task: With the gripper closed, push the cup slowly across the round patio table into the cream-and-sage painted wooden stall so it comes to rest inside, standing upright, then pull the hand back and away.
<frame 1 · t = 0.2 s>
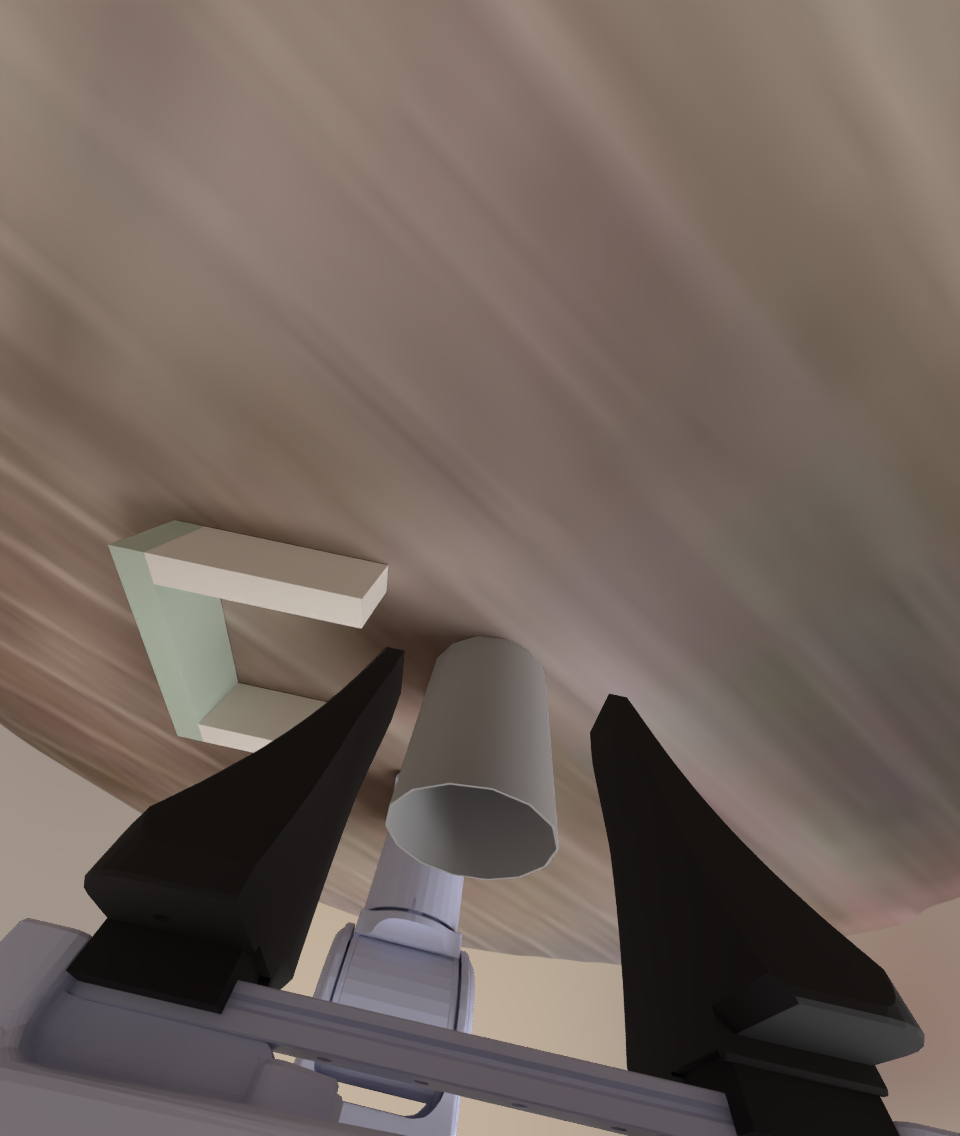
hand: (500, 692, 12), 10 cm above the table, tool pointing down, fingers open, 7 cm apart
stall: (303, 642, 26), on the table
cup: (488, 679, 26), on the table
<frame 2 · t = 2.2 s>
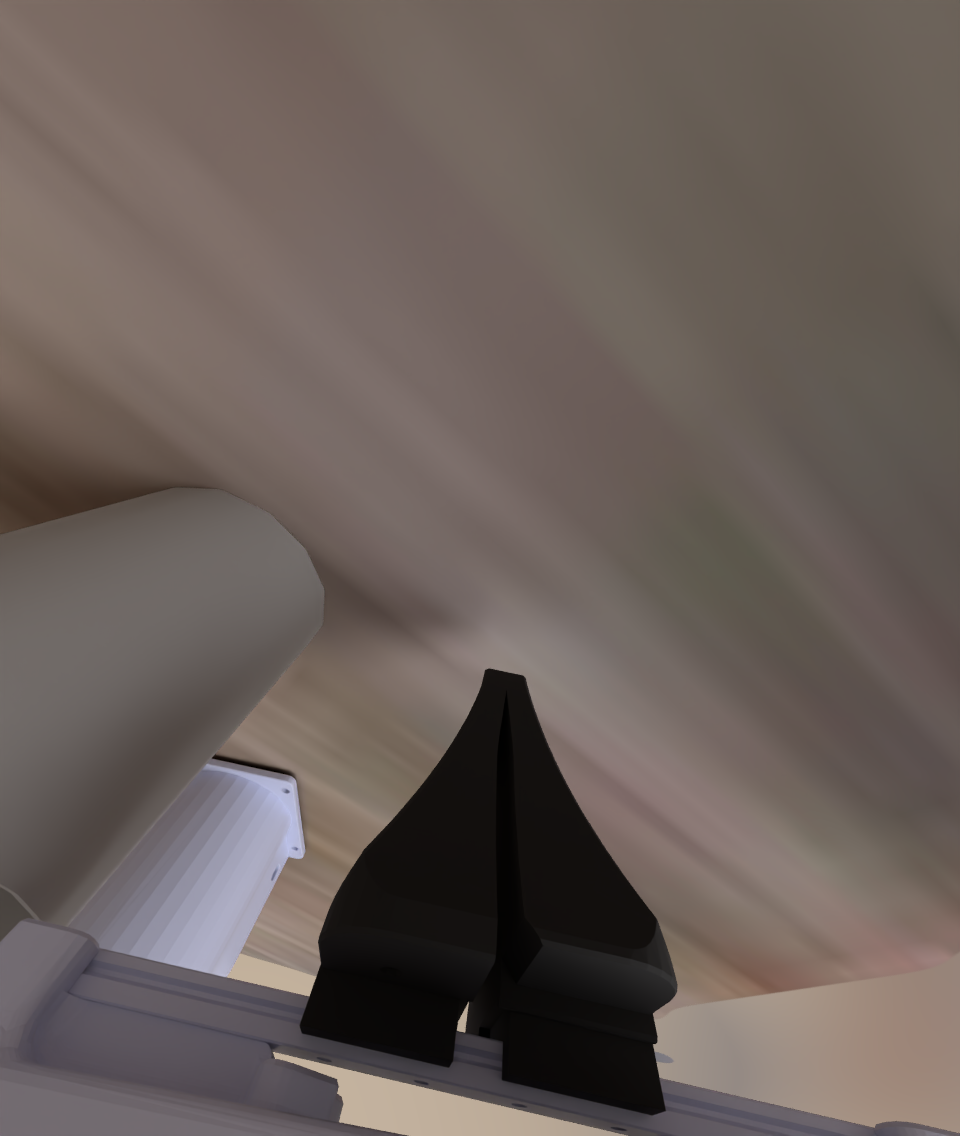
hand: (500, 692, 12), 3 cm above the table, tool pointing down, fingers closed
cup: (234, 580, 15), on the table
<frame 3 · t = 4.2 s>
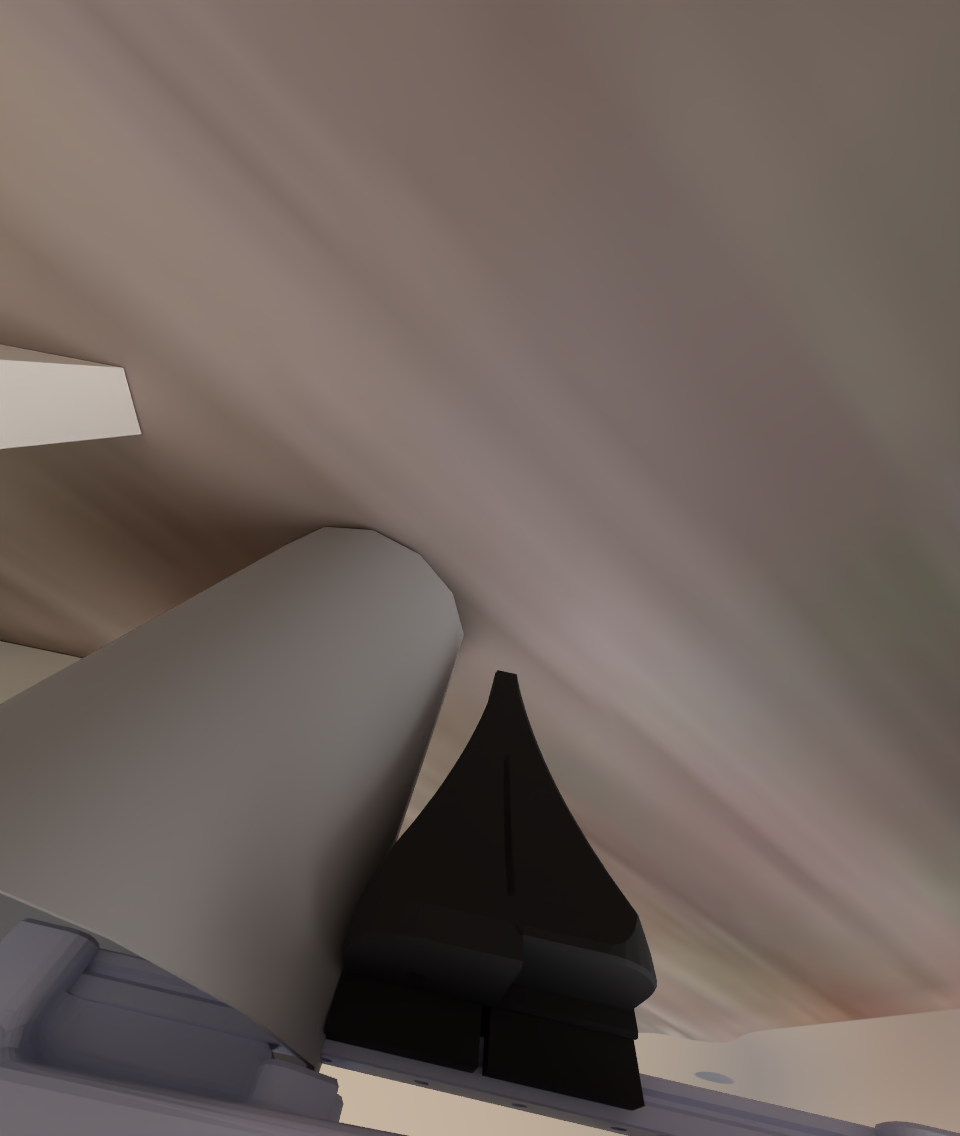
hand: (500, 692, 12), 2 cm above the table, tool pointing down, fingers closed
stall: (46, 555, 15), on the table
cup: (365, 620, 14), on the table, touching gripper
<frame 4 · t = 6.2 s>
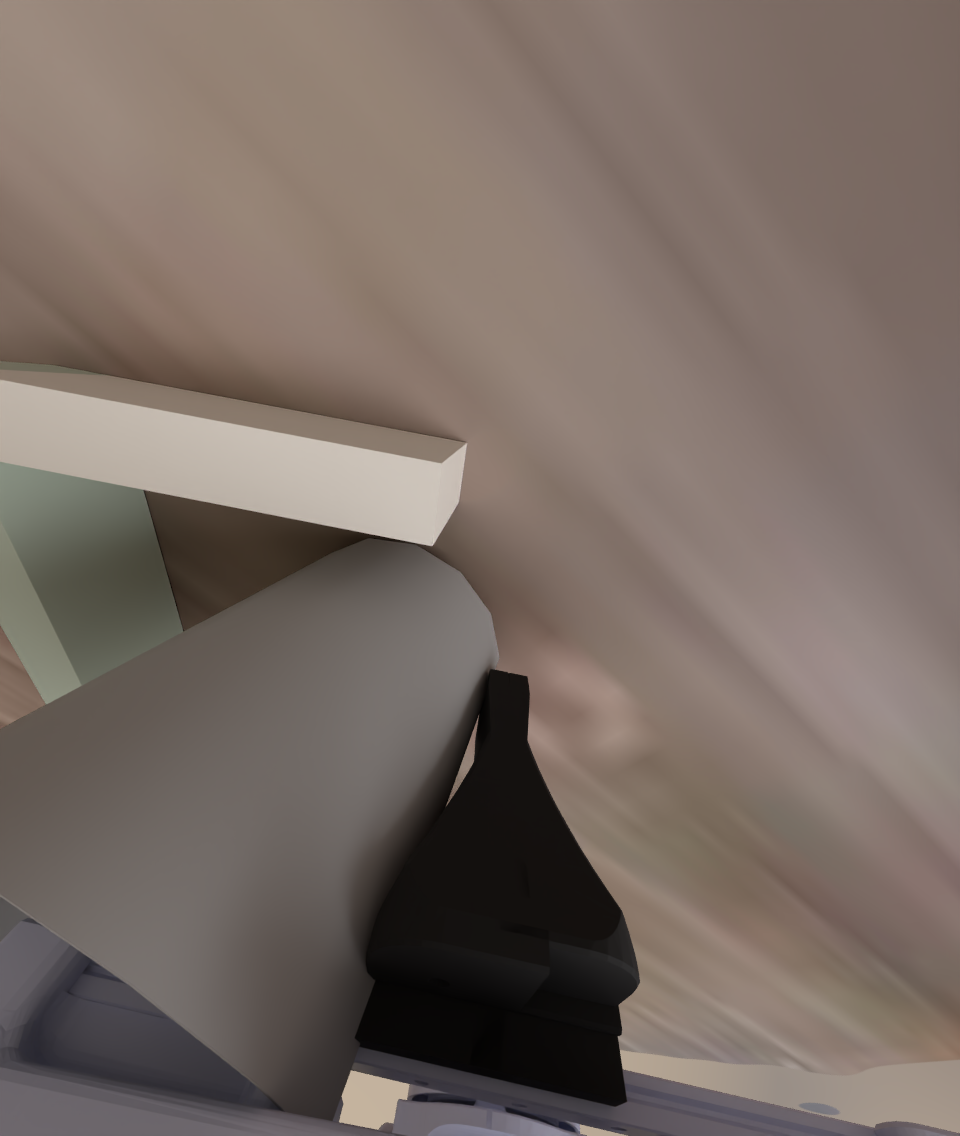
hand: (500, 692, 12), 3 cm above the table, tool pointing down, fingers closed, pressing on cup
stall: (303, 610, 15), on the table
cup: (400, 633, 14), on the table, touching gripper
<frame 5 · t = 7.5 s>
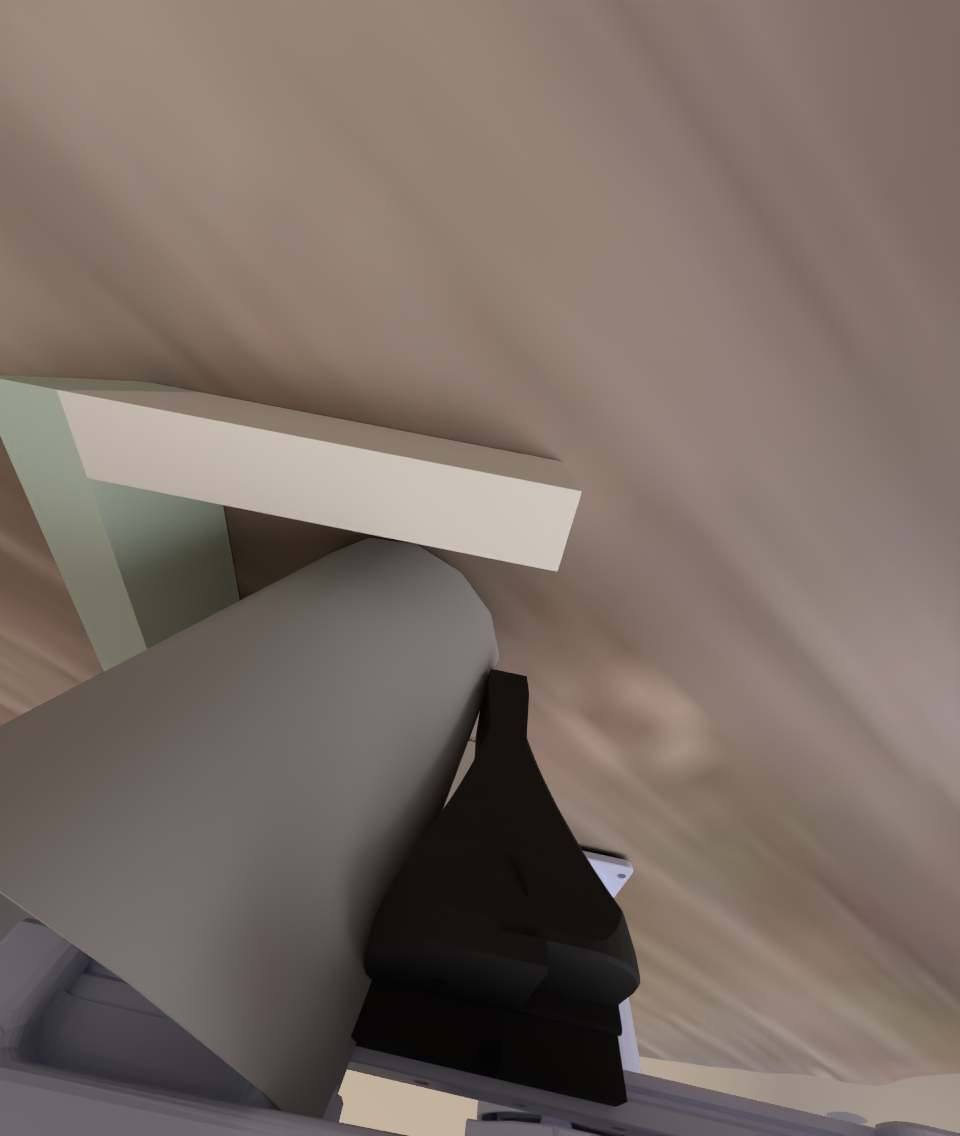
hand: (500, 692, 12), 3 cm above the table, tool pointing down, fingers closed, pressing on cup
stall: (373, 624, 15), on the table
cup: (401, 633, 14), on the table, touching gripper
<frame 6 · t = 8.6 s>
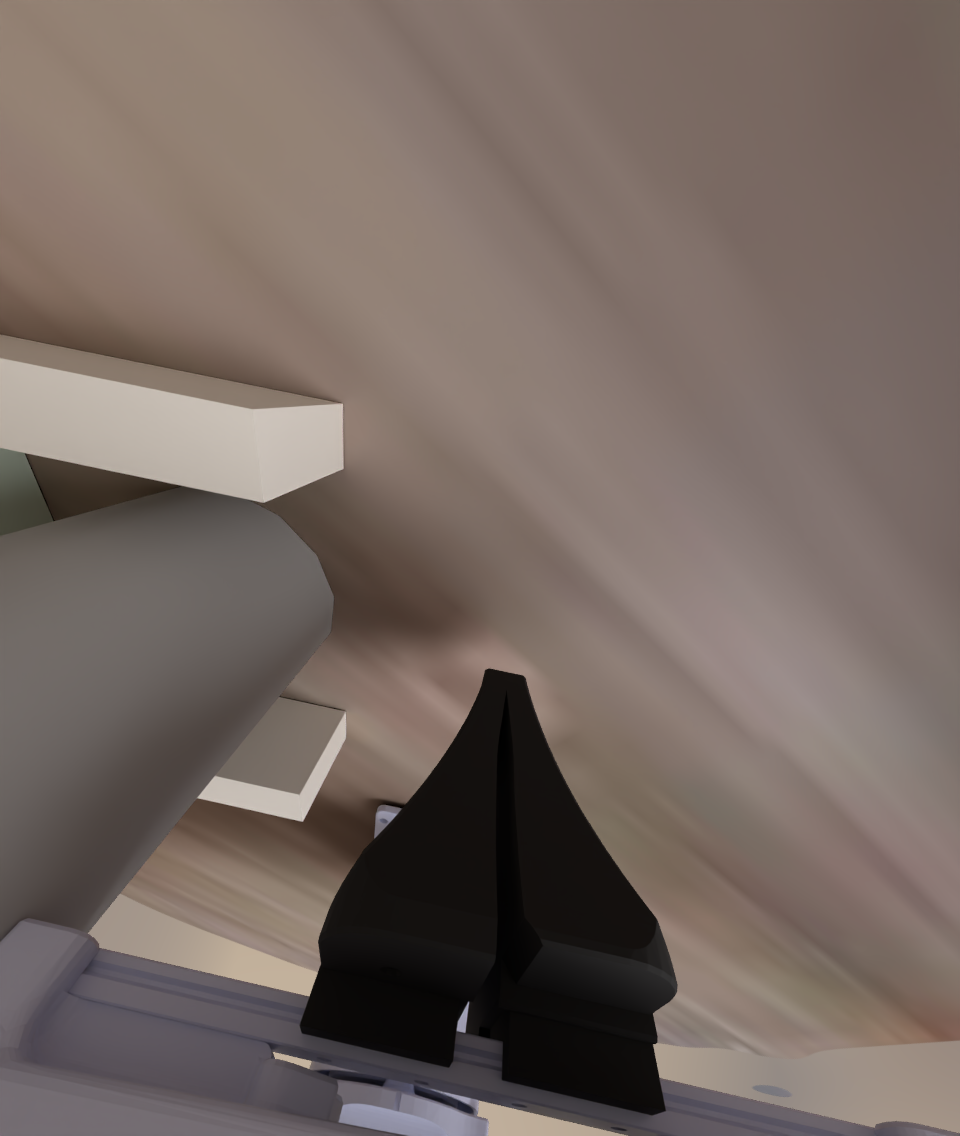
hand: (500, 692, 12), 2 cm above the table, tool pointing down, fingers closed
stall: (205, 584, 14), on the table
cup: (240, 584, 15), on the table
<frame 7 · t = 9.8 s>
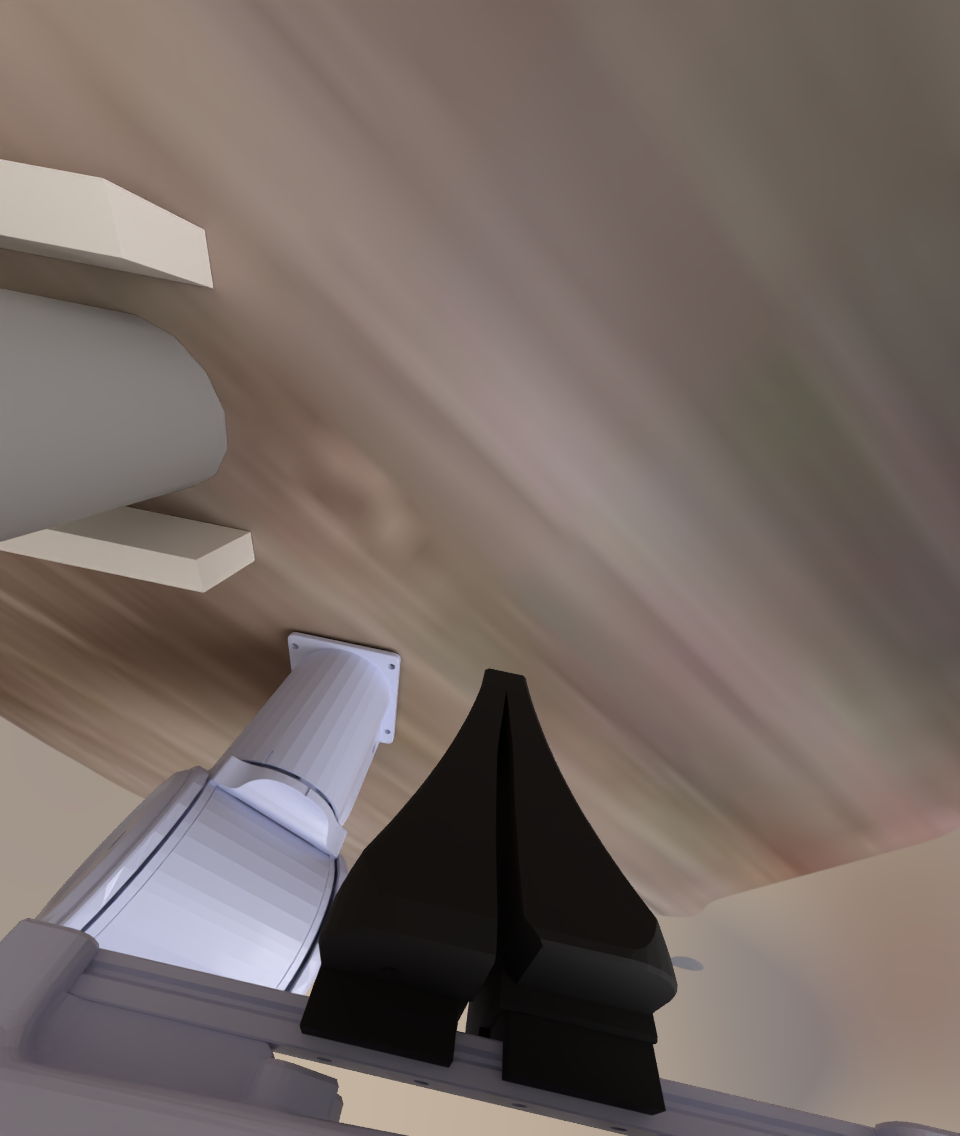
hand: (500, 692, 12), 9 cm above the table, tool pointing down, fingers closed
stall: (126, 407, 19), on the table
cup: (154, 408, 19), on the table
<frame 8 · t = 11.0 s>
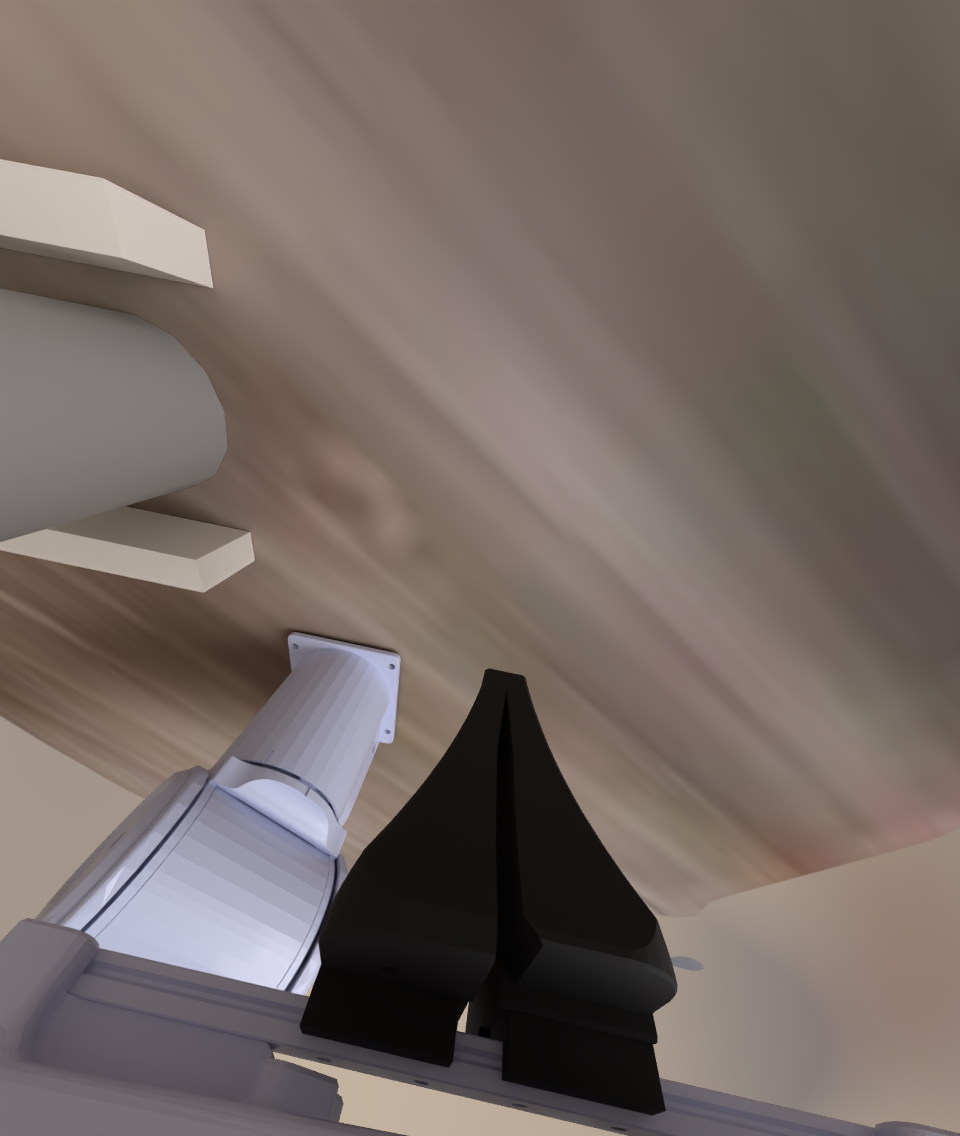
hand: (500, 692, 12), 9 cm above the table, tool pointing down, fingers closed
stall: (126, 407, 19), on the table
cup: (154, 408, 19), on the table
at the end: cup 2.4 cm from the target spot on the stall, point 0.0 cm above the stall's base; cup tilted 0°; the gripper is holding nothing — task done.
